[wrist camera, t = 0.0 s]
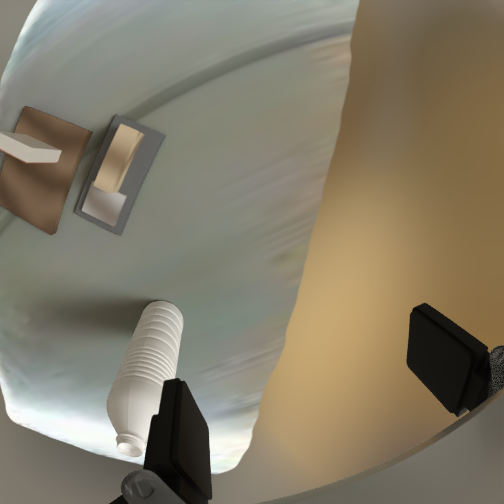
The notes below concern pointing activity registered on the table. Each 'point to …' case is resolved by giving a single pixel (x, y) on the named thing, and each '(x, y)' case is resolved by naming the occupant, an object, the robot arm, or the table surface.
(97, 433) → the table surface
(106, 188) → the turner
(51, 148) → the tile
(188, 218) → the table surface
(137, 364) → the water bottle
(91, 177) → the mat
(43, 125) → the board
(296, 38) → the table surface
